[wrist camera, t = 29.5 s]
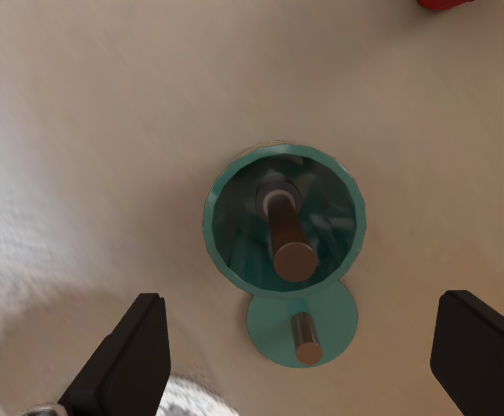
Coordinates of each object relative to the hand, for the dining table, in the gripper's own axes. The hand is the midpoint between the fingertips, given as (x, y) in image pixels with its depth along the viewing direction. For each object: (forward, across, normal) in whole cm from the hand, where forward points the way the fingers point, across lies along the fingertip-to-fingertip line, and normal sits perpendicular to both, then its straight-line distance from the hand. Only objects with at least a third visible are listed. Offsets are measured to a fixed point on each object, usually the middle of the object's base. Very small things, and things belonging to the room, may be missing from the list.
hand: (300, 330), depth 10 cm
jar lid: (+21, -4, +14) cm, 25 cm away
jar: (+22, -1, 0) cm, 22 cm away
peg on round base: (+21, -1, 0) cm, 21 cm away
